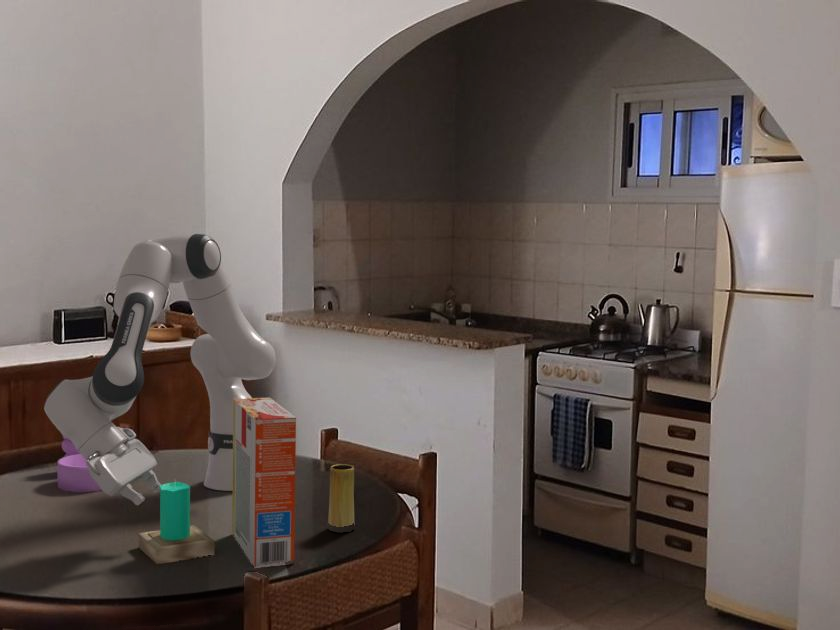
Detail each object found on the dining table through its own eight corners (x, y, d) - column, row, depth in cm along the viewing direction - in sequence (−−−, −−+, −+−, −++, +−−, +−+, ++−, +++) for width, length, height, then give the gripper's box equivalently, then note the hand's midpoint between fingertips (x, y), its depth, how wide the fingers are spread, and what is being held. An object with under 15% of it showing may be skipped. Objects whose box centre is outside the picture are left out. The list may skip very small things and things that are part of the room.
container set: (127, 488, 258) (127, 437, 256) (65, 495, 249) (65, 442, 248) (101, 466, 279) (101, 419, 277) (43, 472, 271) (42, 424, 269)
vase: (358, 527, 229) (360, 465, 228) (348, 535, 223) (349, 471, 222) (334, 524, 231) (335, 462, 230) (323, 531, 225) (324, 468, 224)
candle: (161, 531, 212) (161, 475, 211) (191, 531, 213) (191, 475, 212) (158, 540, 206) (158, 482, 205) (188, 540, 207) (188, 482, 206)
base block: (193, 538, 218) (194, 524, 218) (214, 554, 208) (214, 539, 208) (138, 547, 212) (138, 532, 212) (156, 564, 202) (156, 548, 201)
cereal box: (294, 564, 204) (296, 417, 201) (254, 568, 201) (255, 419, 198) (268, 531, 225) (270, 397, 222) (232, 534, 222) (233, 399, 219)
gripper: (93, 448, 199) (141, 499, 199) (134, 427, 219) (178, 474, 219) (71, 469, 200) (119, 520, 200) (115, 446, 220) (158, 493, 220)
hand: (150, 496), depth 210 cm, fingers open, 8 cm apart
